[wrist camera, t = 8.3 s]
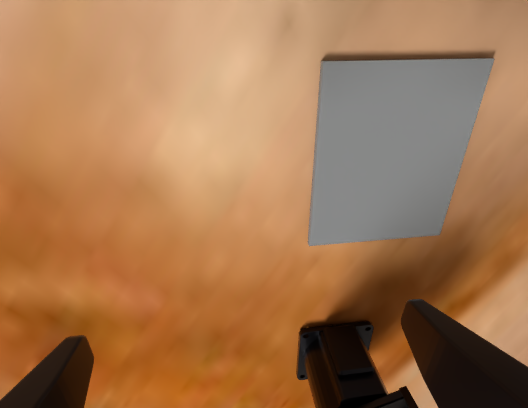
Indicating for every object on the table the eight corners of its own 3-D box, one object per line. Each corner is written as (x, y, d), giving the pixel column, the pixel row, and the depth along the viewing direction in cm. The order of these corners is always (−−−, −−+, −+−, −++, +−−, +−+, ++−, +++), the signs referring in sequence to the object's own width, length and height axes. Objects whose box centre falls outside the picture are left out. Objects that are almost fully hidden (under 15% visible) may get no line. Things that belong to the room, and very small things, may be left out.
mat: (436, 232, 24) (439, 235, 24) (307, 242, 23) (309, 245, 22) (489, 58, 18) (494, 58, 18) (321, 60, 17) (323, 61, 17)
